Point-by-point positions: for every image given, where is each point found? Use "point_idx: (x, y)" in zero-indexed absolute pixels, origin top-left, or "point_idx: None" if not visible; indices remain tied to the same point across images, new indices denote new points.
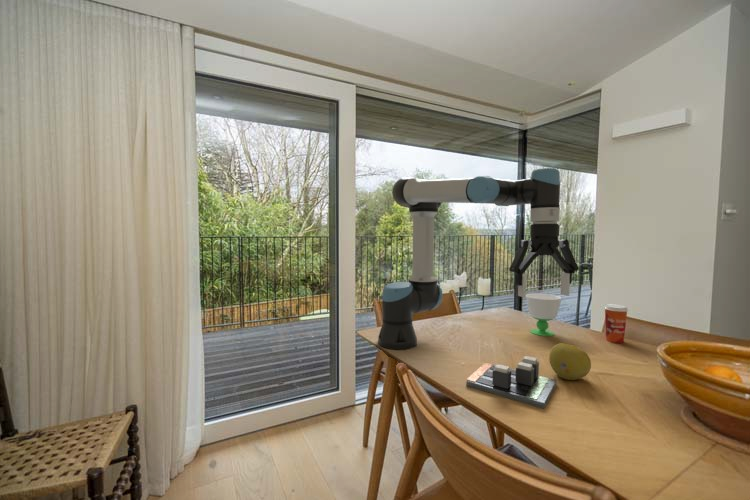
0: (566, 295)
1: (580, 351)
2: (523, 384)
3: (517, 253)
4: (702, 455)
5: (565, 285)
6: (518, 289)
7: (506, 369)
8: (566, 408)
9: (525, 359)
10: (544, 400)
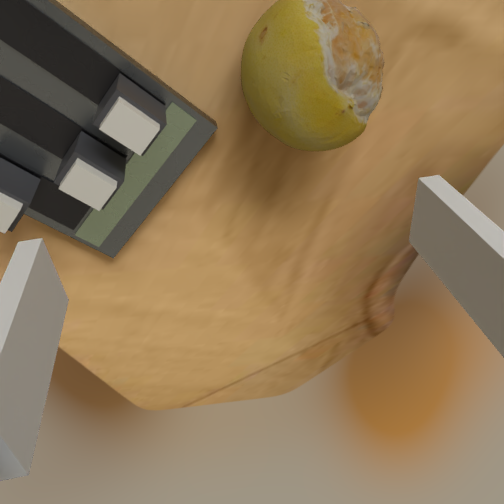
0: (410, 238)
1: (339, 137)
2: None
3: None
4: (311, 346)
5: (451, 275)
6: (5, 283)
7: (4, 231)
8: (173, 243)
9: (108, 133)
10: (119, 247)
